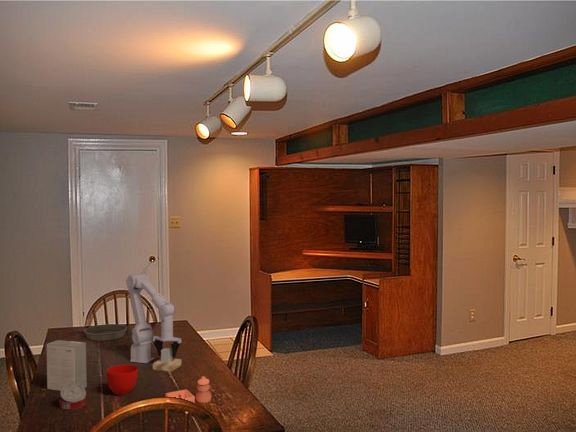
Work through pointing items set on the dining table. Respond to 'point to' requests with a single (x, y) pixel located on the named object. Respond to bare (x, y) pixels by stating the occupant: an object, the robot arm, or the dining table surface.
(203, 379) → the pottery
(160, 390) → the dining table surface
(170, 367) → the maple pedestal
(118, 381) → the ceramic cup
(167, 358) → the gray block
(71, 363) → the hard drive box
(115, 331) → the cake pan
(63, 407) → the canned food
